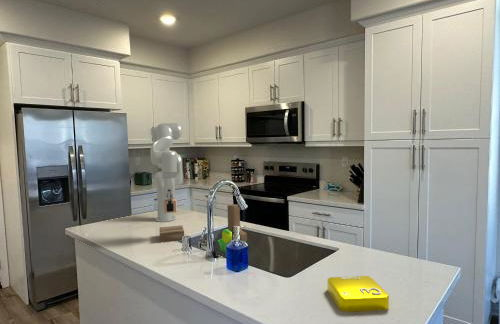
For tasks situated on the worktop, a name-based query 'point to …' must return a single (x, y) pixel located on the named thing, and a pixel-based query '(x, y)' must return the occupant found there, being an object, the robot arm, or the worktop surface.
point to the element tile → (357, 294)
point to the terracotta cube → (173, 206)
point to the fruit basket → (225, 239)
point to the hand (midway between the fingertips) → (170, 209)
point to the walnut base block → (171, 233)
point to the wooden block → (235, 220)
